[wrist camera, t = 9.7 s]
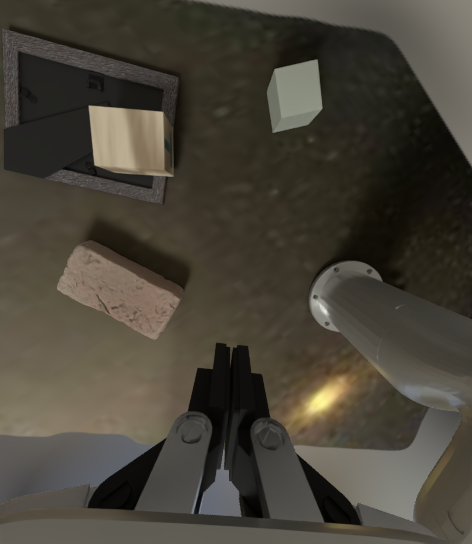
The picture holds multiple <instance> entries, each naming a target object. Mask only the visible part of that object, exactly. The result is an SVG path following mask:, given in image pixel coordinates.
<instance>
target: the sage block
mask: <svg viewBox="0 0 472 544" xmlns="http://www.w3.org/2000/svg"><path fill="white" fill-rule="evenodd" d="M267 97H268V103H269V110H270V116H271V123H272V129H273V133H274V132H278V131H283V130H287V129H292V128H296V127H300V126H305V125H308V124H309V123H310V122H311V121H312V120H313V119H314V117H315V116H316V115H317V114H318V113H319V112H320V111H321V110H322V100H321V90H320V80H319V70H318V59H317V60H312V61H308V62H304V63H299V64H295V65H291V66H286V67H282V68H278V69H275V70H274V72H273V75H272V78H271V81H270V84H269V87H268V90H267Z"/></svg>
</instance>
